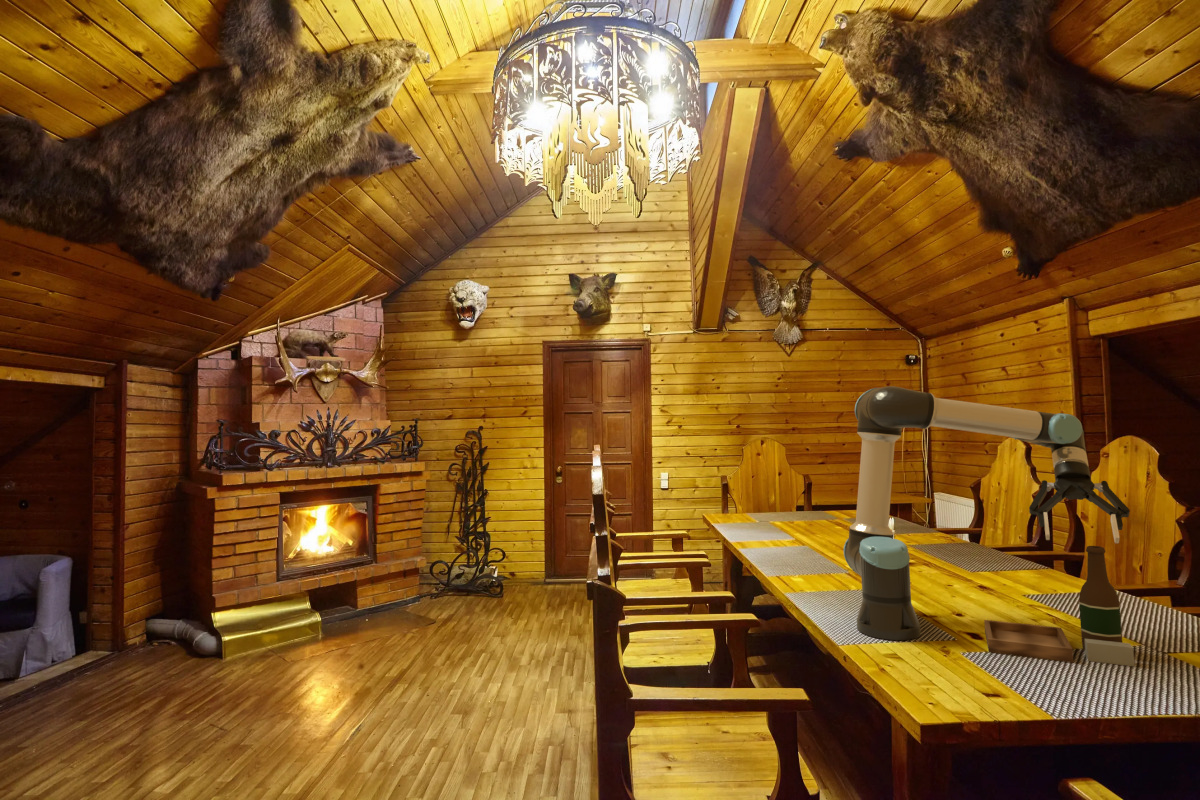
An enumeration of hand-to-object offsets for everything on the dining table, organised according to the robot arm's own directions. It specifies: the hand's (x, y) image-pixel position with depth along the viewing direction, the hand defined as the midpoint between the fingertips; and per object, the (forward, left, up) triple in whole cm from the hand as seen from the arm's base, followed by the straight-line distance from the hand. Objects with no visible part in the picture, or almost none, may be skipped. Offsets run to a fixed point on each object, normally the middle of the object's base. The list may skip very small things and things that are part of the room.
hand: (1081, 539), depth 153 cm
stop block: (+1, -16, -24) cm, 29 cm away
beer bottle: (+1, -9, -24) cm, 26 cm away
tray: (-14, -12, -24) cm, 30 cm away
